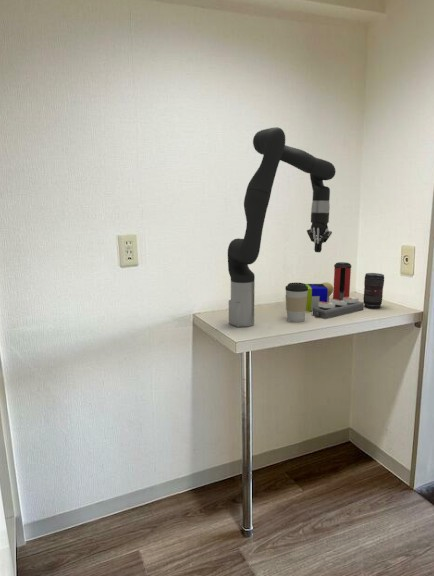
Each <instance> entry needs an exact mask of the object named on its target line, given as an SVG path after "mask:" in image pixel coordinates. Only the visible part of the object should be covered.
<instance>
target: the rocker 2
mask: <svg viewBox="0 0 434 576" xmlns="http://www.w3.org/2000/svg"><path fill="white" fill-rule="evenodd" d="M330 303H332V304H336V305H342V306H346V305H347V302H345V301H342V300H337V299H333V298H331V301H330Z"/></svg>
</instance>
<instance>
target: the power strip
mask: <svg viewBox="0 0 434 576" xmlns="http://www.w3.org/2000/svg"><path fill="white" fill-rule="evenodd" d="M359 311H360V312H361V311H364V301H363V302H362V301H359V300H358V303H347V305H346V306H342V305H336V304H335V308H323V307H319V306H318V307H314V308H313V311H311V313H312V315H311V316H314V317H315V318H321V319H324V320H326V319H330V318H335V317H340V316H342V315H343V316H344V315H346V314H352V313H356V312H359ZM339 315H340V316H339Z"/></svg>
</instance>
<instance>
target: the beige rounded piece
mask: <svg viewBox="0 0 434 576" xmlns="http://www.w3.org/2000/svg"><path fill="white" fill-rule="evenodd" d="M321 284H323V285H324V286H325V287H327V288H328V293H327V303H330V297H331V296H332V295H333V289H334V285H333V284H331V283H329V282H322V283H321Z"/></svg>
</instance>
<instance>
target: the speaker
mask: <svg viewBox="0 0 434 576" xmlns="http://www.w3.org/2000/svg"><path fill="white" fill-rule="evenodd" d="M333 267H334V269H333V271H334V273H333V274H334V275H333V292H332V299H337V300H342V301H343V297H350V292H351V291H350V289H351V288H350V287H351V274H352V272H351V271H352V264H351V263H349V262H344V261H343V262H335V264H334V266H333Z"/></svg>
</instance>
